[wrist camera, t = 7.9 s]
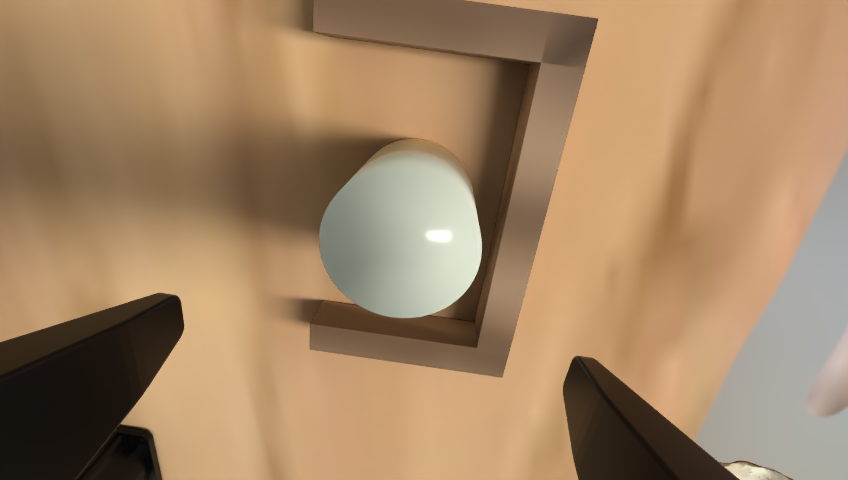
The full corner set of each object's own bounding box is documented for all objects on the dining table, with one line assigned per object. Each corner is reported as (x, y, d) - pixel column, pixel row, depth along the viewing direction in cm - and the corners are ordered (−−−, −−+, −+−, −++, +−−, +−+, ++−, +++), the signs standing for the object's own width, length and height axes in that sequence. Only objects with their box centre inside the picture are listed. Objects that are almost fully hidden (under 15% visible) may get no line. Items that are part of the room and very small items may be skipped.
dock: (497, 349, 22) (502, 377, 20) (322, 324, 22) (309, 349, 20) (579, 25, 16) (598, 18, 14) (331, -9, 16) (313, -20, 14)
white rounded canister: (462, 257, 20) (466, 328, 14) (354, 241, 20) (317, 306, 14) (482, 148, 18) (497, 182, 12) (361, 130, 18) (320, 157, 12)
